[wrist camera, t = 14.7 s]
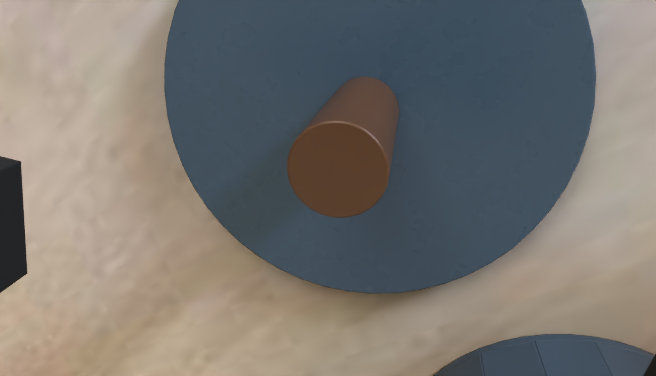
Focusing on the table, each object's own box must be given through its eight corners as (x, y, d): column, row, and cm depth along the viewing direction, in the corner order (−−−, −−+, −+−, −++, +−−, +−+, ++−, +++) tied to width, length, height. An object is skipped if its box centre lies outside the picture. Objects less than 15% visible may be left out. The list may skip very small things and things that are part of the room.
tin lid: (668, -80, 18) (883, -143, 10) (501, 320, 25) (543, 482, 17) (193, -172, 20) (25, -297, 11) (163, 230, 27) (47, 338, 19)
